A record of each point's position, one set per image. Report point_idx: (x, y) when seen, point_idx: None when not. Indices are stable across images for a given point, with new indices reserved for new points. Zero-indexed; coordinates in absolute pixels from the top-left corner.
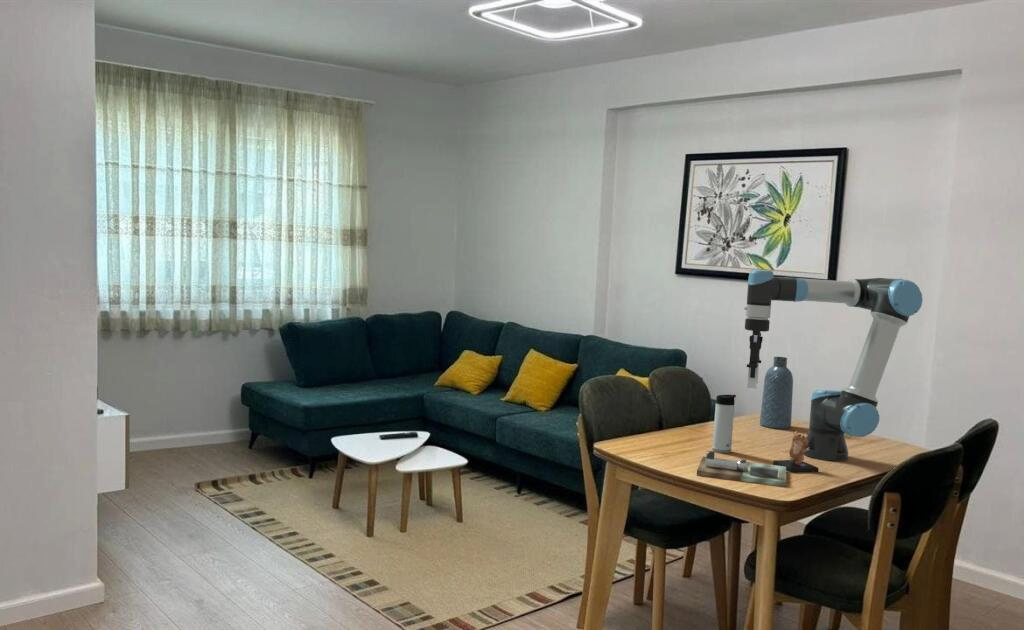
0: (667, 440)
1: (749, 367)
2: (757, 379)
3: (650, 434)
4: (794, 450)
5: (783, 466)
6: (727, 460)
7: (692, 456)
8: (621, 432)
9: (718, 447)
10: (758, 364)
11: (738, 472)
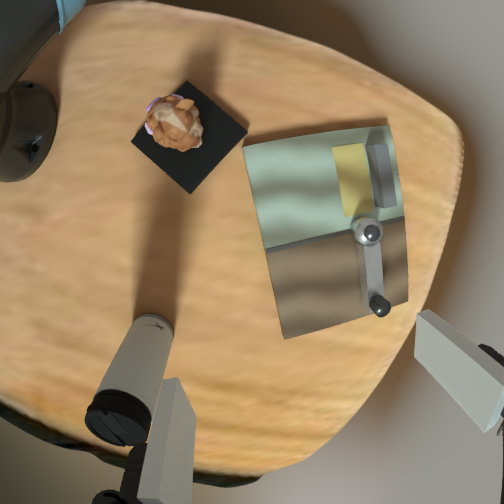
0: None
1: (497, 419)
2: (174, 397)
3: None
4: (198, 131)
5: (245, 153)
6: (375, 266)
7: (255, 362)
8: None
9: (171, 341)
10: (161, 494)
11: None
